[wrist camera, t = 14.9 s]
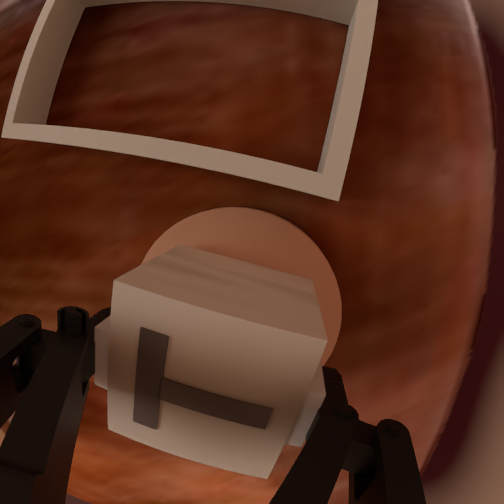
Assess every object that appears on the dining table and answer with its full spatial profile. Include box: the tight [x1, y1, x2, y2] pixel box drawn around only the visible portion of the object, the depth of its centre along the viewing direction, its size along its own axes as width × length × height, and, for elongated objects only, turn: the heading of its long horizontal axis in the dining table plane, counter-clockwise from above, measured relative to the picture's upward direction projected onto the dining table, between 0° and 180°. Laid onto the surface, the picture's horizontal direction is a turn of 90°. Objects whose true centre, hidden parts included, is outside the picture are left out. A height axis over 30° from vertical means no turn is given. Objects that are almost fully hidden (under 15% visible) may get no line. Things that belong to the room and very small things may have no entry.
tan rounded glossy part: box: [141, 206, 342, 366], centre depth 19 cm, size 12×12×2 cm
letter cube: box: [107, 244, 328, 479], centre depth 14 cm, size 7×7×7 cm
